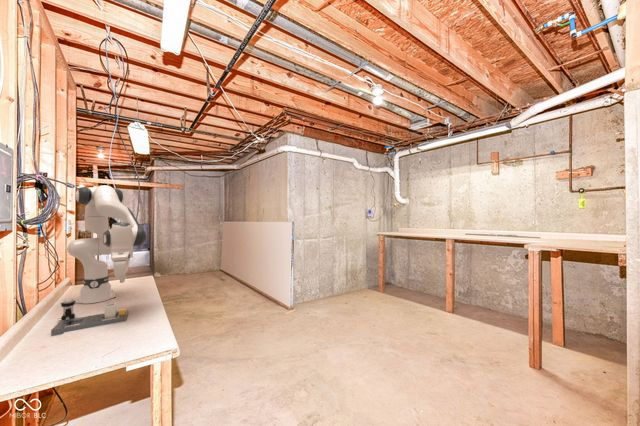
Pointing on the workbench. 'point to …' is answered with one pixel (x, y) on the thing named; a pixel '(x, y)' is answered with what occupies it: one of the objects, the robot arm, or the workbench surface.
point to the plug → (110, 310)
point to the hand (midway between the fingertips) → (122, 282)
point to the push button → (67, 310)
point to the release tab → (122, 312)
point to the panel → (86, 322)
